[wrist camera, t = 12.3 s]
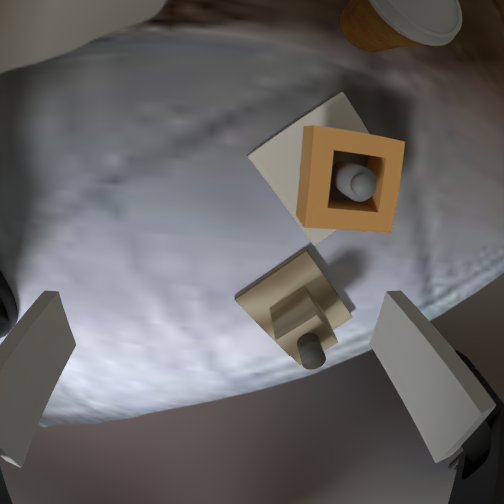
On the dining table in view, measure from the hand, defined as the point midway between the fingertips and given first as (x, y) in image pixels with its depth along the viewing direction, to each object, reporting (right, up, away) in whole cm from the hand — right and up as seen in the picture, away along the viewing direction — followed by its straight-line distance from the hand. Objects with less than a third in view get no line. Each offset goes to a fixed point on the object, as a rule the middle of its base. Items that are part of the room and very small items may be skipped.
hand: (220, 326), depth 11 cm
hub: (+9, +12, +19) cm, 24 cm away
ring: (+9, +10, +14) cm, 19 cm away
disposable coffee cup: (+14, +27, +12) cm, 33 cm away
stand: (+7, -4, +25) cm, 26 cm away
